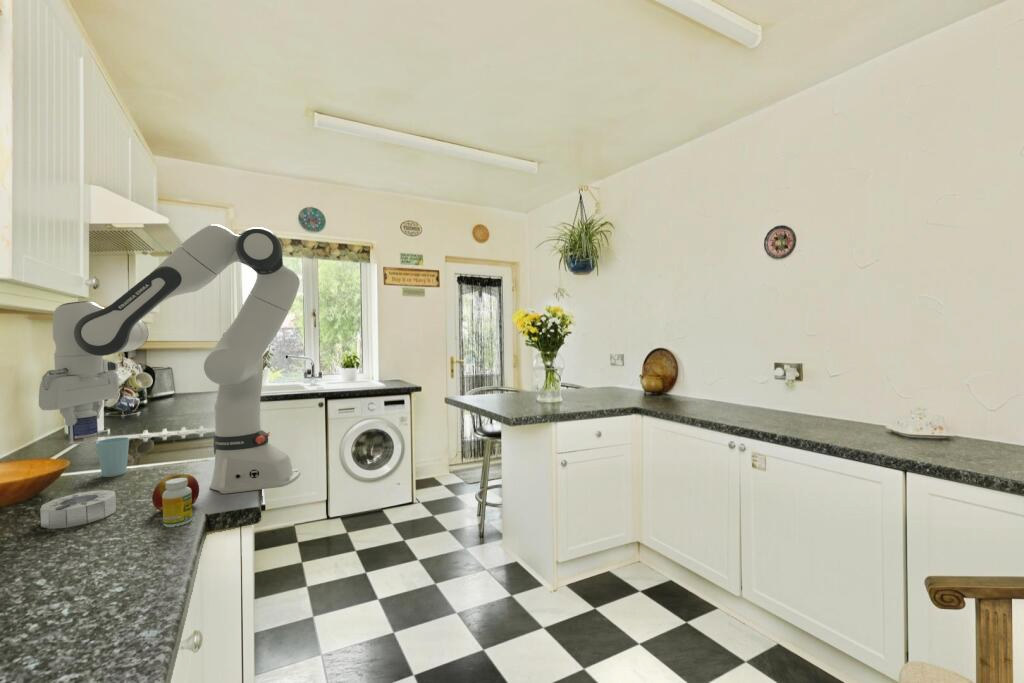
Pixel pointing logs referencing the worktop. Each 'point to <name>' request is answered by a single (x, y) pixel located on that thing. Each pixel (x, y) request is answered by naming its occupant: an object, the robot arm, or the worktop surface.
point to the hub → (77, 509)
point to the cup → (113, 456)
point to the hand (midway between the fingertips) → (83, 422)
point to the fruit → (161, 489)
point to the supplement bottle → (177, 503)
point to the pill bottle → (83, 425)
